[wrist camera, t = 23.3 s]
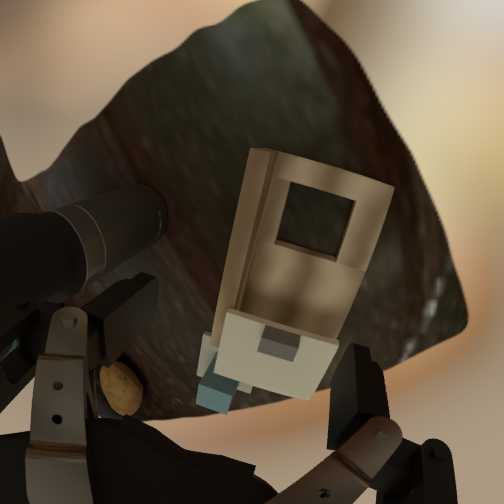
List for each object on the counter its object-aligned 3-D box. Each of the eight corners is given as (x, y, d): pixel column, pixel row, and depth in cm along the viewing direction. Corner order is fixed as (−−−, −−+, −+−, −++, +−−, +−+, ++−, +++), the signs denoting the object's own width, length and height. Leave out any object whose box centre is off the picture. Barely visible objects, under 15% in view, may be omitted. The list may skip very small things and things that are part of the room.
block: (216, 351, 46) (198, 383, 38) (246, 361, 45) (232, 395, 38) (212, 371, 48) (195, 403, 40) (240, 380, 47) (226, 414, 40)
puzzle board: (228, 311, 44) (209, 344, 36) (266, 148, 35) (250, 147, 27) (330, 342, 42) (329, 380, 34) (390, 185, 33) (410, 196, 25)
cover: (216, 367, 37) (207, 384, 34) (229, 307, 33) (219, 323, 30) (309, 395, 35) (307, 414, 32) (338, 340, 31) (339, 359, 28)
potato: (143, 356, 52) (122, 381, 45) (155, 402, 57) (139, 426, 50) (105, 343, 54) (83, 365, 47) (120, 389, 59) (102, 411, 52)
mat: (198, 371, 50) (196, 375, 49) (205, 330, 46) (203, 334, 45) (251, 389, 49) (250, 393, 48) (265, 350, 45) (263, 354, 44)
